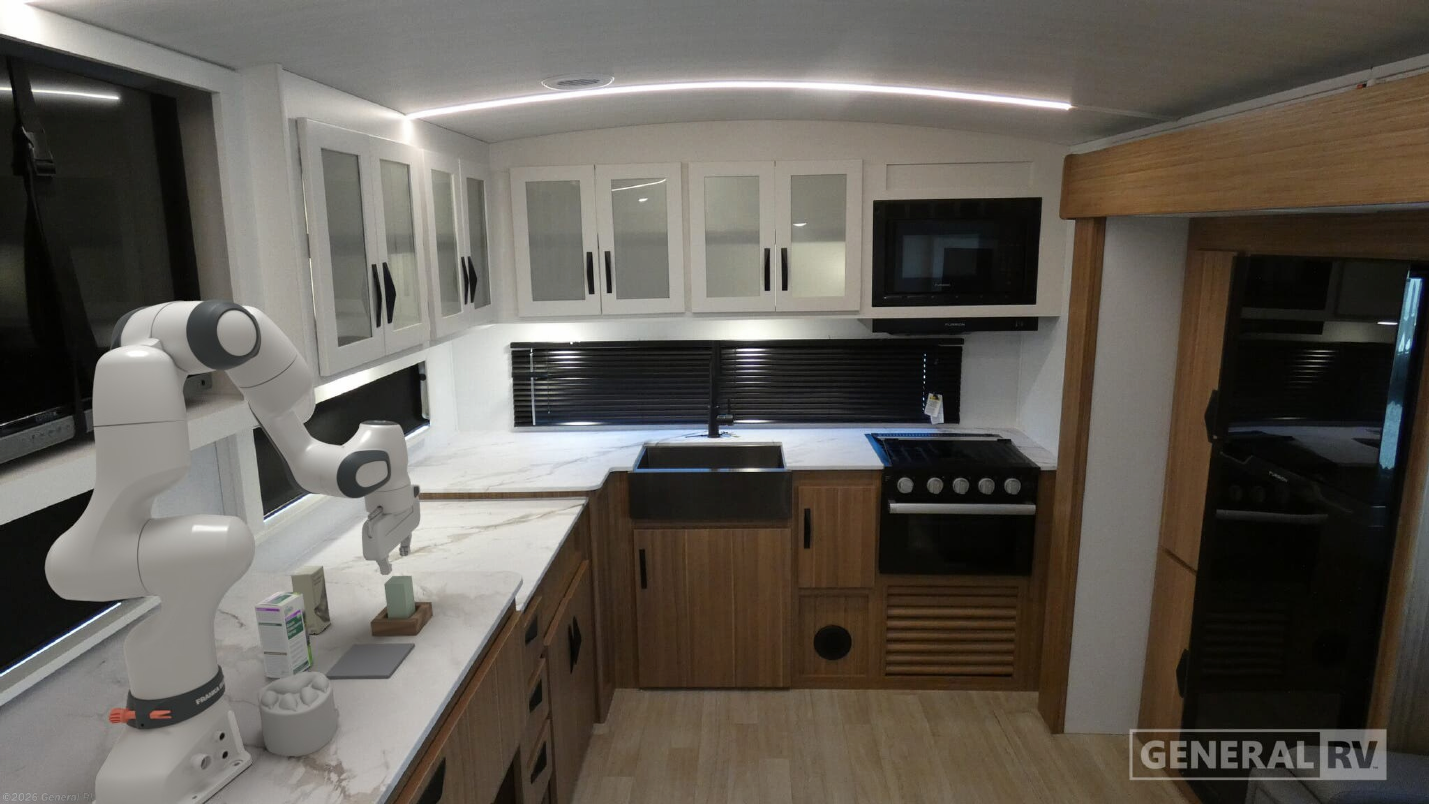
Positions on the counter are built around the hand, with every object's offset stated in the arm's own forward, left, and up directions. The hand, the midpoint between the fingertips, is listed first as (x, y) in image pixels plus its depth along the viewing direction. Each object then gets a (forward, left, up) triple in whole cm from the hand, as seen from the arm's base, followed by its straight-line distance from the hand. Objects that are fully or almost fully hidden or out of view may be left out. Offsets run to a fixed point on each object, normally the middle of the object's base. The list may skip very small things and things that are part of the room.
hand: (396, 563), depth 168 cm
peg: (0, 0, -13) cm, 13 cm away
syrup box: (-18, +14, -14) cm, 27 cm away
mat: (-15, 0, -13) cm, 20 cm away
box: (-1, +18, -14) cm, 22 cm away
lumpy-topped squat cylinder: (-38, +1, -14) cm, 41 cm away
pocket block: (0, 0, -13) cm, 13 cm away
